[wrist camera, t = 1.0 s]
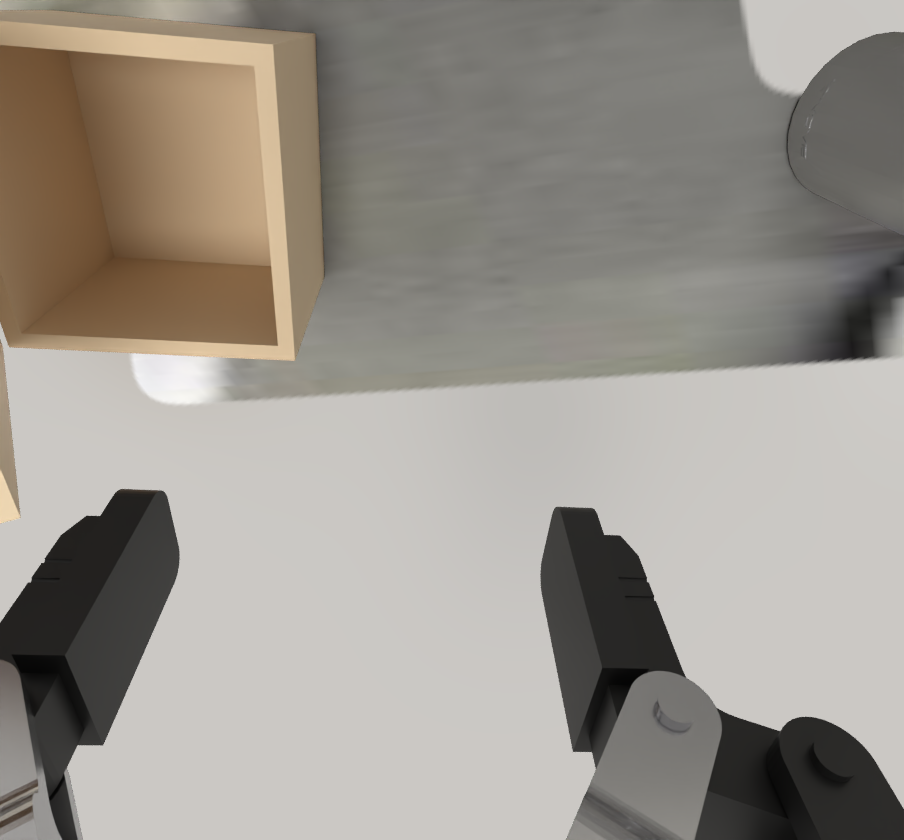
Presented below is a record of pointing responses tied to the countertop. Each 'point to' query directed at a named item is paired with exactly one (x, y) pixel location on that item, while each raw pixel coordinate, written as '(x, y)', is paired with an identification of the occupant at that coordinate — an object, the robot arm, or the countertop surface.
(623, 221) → the countertop surface
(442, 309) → the countertop surface
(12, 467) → the lid flap
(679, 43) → the countertop surface
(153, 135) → the carton
